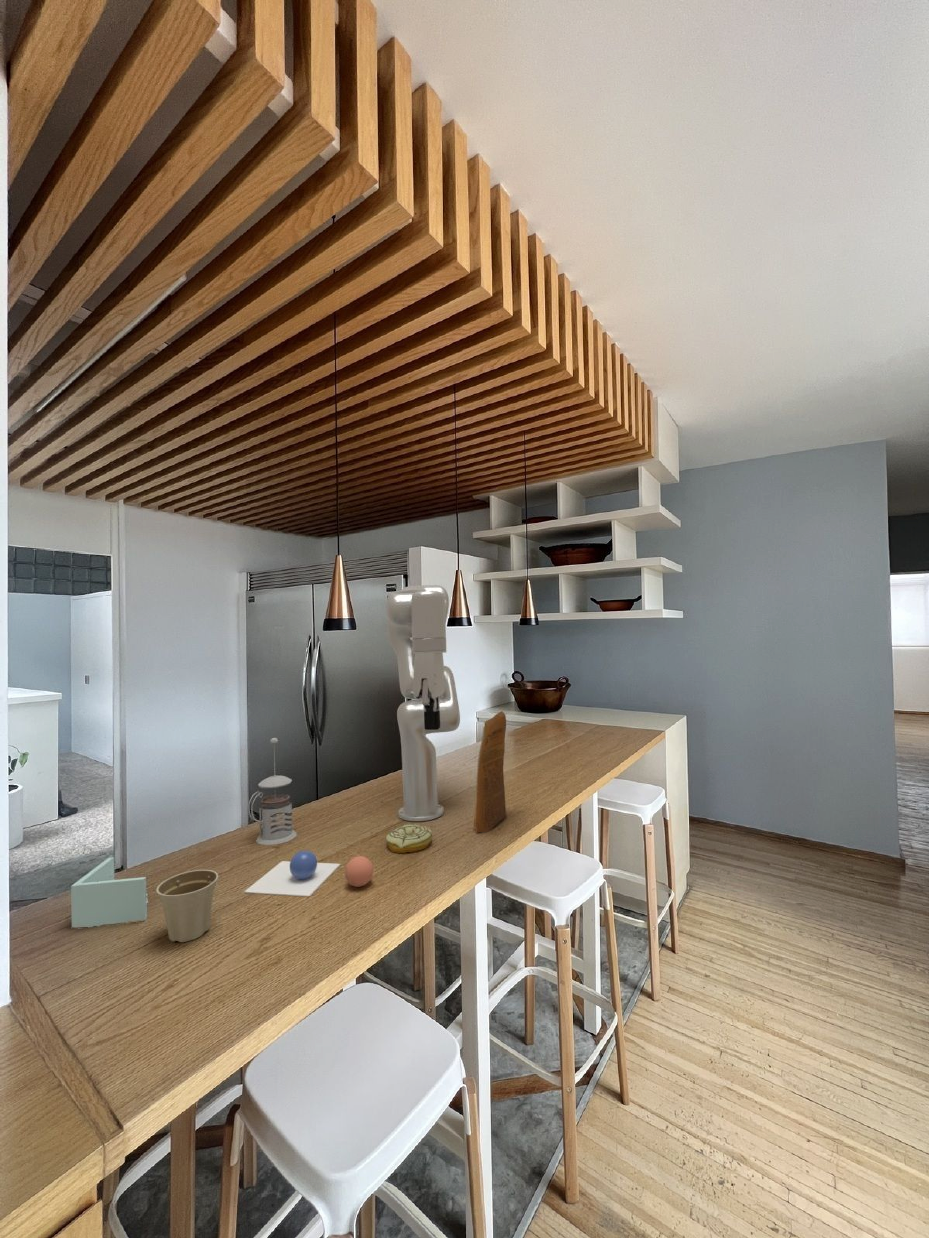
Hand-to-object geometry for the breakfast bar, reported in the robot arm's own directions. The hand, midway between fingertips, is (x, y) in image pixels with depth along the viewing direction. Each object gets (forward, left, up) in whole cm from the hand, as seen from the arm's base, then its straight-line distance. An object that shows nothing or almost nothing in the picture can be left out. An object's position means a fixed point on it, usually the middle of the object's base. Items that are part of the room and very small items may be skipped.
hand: (432, 728), depth 115 cm
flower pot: (+33, -36, -29) cm, 56 cm away
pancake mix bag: (-23, +9, -29) cm, 38 cm away
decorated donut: (-7, -9, -29) cm, 31 cm away
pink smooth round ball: (+13, -13, -26) cm, 32 cm away
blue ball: (+12, -26, -26) cm, 38 cm away
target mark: (+12, -28, -29) cm, 42 cm away
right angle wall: (+27, -54, -29) cm, 67 cm away
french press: (-8, -45, -29) cm, 54 cm away
